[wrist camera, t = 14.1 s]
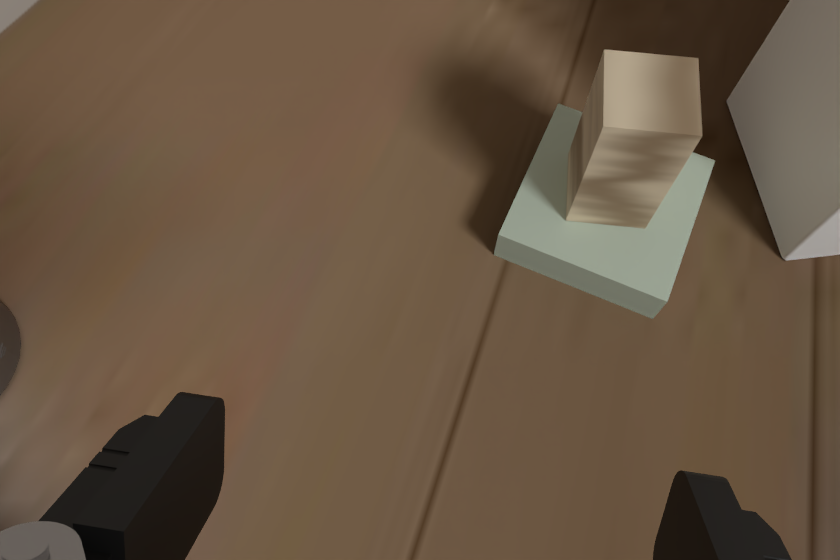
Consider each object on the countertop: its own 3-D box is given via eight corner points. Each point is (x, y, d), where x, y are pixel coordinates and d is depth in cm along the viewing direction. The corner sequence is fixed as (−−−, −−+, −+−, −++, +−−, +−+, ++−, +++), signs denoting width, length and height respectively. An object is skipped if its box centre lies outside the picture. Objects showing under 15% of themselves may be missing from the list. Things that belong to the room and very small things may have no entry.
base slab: (492, 258, 49) (498, 234, 46) (549, 133, 53) (558, 103, 50) (650, 321, 47) (667, 301, 44) (696, 187, 51) (715, 160, 48)
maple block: (565, 220, 46) (603, 126, 37) (568, 154, 48) (604, 49, 39) (645, 228, 46) (702, 135, 37) (644, 161, 48) (698, 58, 39)
